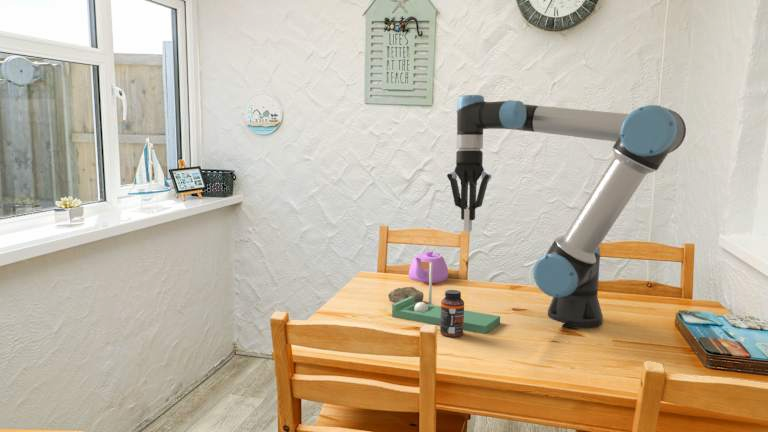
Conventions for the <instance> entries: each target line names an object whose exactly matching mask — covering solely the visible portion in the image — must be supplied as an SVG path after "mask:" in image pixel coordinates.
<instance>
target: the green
mask: <svg viewBox="0 0 768 432" xmlns="http://www.w3.org/2000/svg"><path fill="white" fill-rule="evenodd" d="M417 303H418V302H414V297H411V296H410V297H408V298H406V299H404V300H401V301H399V302H397V303H393V304H392V305H391V306H392V307H391V309H392V310H391V312H392V313H391V317H392V318H399V319H404V320H408V321H415V322H420V323H426V324H429V325H435V324H437V325H436V326H440V323H441V305H435V304H431V305H430V304H429V303H426V304H427V306H428V311H427V312H425V313H421V312H415V311H414V307H415V305H416V304H417ZM500 323H501V316H500V315H495V314H489V313H482V312H477V311H470V310H465V309H464V321H463V331H469V332H473V333H481V334H485V335H486V334H487V333H489V332H490V331H491V330H493V329H494V328H496V326H498V325H500Z"/></svg>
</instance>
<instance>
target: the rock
mask: <svg viewBox="0 0 768 432" xmlns="http://www.w3.org/2000/svg"><path fill="white" fill-rule="evenodd" d="M410 296H411V297H414V302H418V303H419V302H424V301H423V300H424V297H425V296H424V292H423V291H420V290H419V289H417V288H415V287H413V286H405V287H404V286H403V287H401V288H400V287H398V288H395V289H393V290H391V291H390V292H389V293H388V299H389V302H391V303H393V304H395V303H397V302H399V301H401V300H404V299H406V298H408V297H410Z"/></svg>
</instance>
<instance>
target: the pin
mask: <svg viewBox="0 0 768 432" xmlns="http://www.w3.org/2000/svg"><path fill="white" fill-rule="evenodd" d="M421 269H426V270H430V272H429V283H428V286H429V287H428V304H430V305H432V299H433V298H432V297H433V295H432V294H433V283H432V262H423V261H421Z"/></svg>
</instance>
